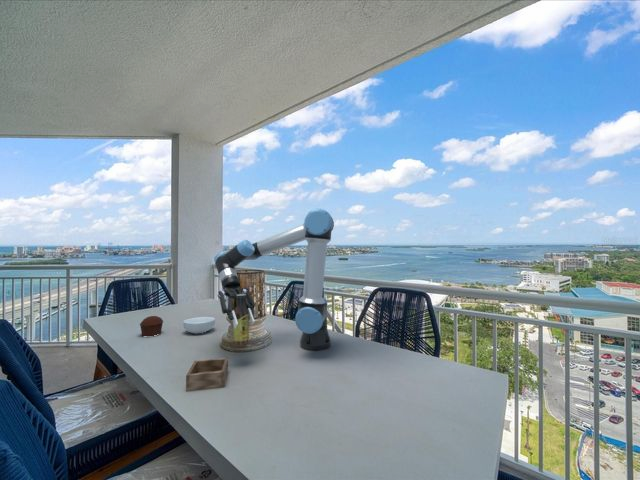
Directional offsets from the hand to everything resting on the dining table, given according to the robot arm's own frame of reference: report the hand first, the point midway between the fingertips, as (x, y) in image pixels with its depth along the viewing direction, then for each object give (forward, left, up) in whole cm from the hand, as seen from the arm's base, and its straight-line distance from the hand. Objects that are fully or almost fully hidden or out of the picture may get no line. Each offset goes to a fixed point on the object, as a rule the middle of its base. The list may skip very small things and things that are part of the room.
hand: (244, 324), depth 113 cm
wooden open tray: (+12, +9, -17) cm, 22 cm away
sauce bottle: (+1, -3, -9) cm, 9 cm away
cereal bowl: (+27, -57, -17) cm, 65 cm away
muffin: (+52, -58, -17) cm, 80 cm away
